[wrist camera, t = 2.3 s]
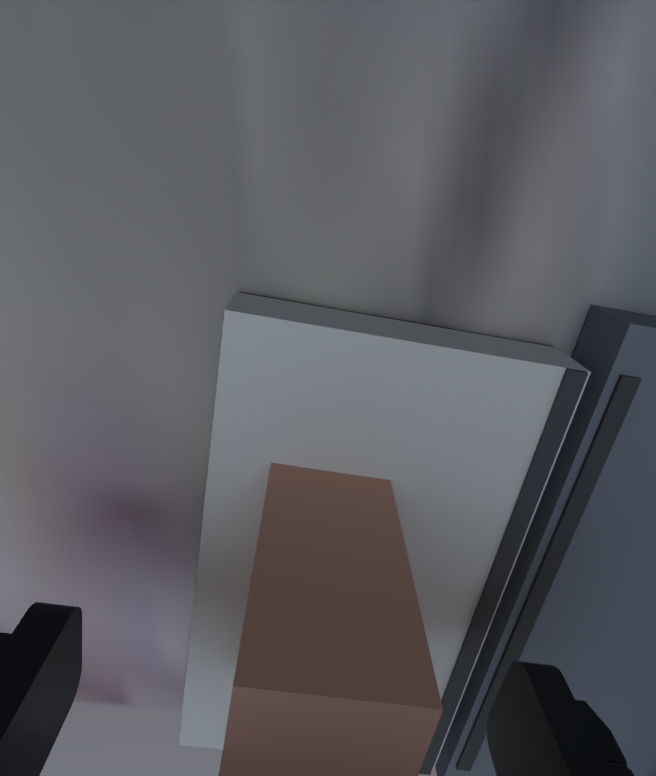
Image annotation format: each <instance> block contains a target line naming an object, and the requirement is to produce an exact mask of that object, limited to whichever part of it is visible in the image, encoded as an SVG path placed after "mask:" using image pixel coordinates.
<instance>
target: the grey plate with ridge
mask: <svg viewBox="0 0 656 776" xmlns="http://www.w3.org/2000/svg"><path fill="white" fill-rule="evenodd" d="M572 359H574V360H575V361H577V362H578V363H579V364H581V365H582V366H583V367H585V368H586V369H587V370H589V371H590V372H591V373H590V376H589V378H588V381H587V384H586V386H585V389H584V391H583V394H582V396H581V399H580V401H579V404H578V406H577V409H576V411H575V414H574V416H573V419H572V421H571V424H570V426H569V429H568V432H567V434H566V437H565V439H564V442H563V444H562V447H561V449H560V452H559V454H558V457H557V459H556V462H555V464H554V467H553V469H552V472H551V474H550V477H549V479H548V482H547V485H546V487H545V490H544V492H543V495H542V497H541V500H540V502H539V505H538V507H537V510H536V512H535V515H534V517H533V520H532V522H531V525H530V527H529V530H528V532H527V535H526V538H525V540H524V543H523V545H522V548H521V550H520V553H519V555H518V558H517V560H516V563H515V565H514V568H513V570H512V573H511V575H510V578H509V580H508V583H507V586H506V588H505V591H504V593H503V596H502V598H501V601H500V603H499V606H498V608H497V611H496V613H495V616H494V618H493V621H492V623H491V626H490V628H489V631H488V633H487V636H486V639H485V641H484V644H483V646H482V649H481V651H480V654H479V656H478V659H477V661H476V664H475V666H474V669H473V671H472V674H471V676H470V679H469V681H468V684H467V686H466V689H465V692H464V694H463V697H462V699H461V702H460V704H459V707H458V709H457V712H456V714H455V717H454V719H453V722H452V724H451V727H450V729H449V732H448V734H447V737H446V740H445V742H444V745H443V747H442V750H441V752H440V755H439V757H438V760H437V762H436V765H435V767H436V771H437V776H497V775H496V771H495V768H494V765H493V761H492V758H491V755H490V751H489V746H488V740H487V721H488V716H489V712H490V710H491V708H492V705H493V703H494V701H495V698H496V696H497V694H498V692H499V689H500V687H501V685H502V682H503V680H504V678H505V676H506V673H507V671H508V669H509V667H510V665H511V664H512V663H513V662H514V661H520V662H529V663H537V664H545V665H553V666H555V667H557V668H558V669H559V670H560V671H561V673H562V674H563V676H564V678H565V680H566V682H567V684H568V686H569V688H570V690H571V692H572V694H573V696H574V698H575V700H582V701H586V703H587V704H588V705H589V706H590V707H591V708H592V709H593V711H594V712H595V713H596V714H597V715H598V716H599V718H600V719H601V720H602V721H603V722H604V723H605V724H606V726H607V727H608V728H609V729H610V730H611V732H612V734H613V736H614V738H615V740H616V742H617V744H618V746H619V748H620V749H621V751H622V753H623V755H624V757H625V759H626V761H627V767H628V769H631V770H632V772H633V774H634V776H656V317H655V316H650V315H644V314H639V313H633V312H628V311H622V310H616V309H611V308H605V307H600V306H594V305H592V306H591V309H590V311H589V314H588V317H587V319H586V322H585V325H584V327H583V330H582V333H581V335H580V338H579V341H578V343H577V346H576V349H575V351H574V354H573V357H572Z"/></svg>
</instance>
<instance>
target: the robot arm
mask: <svg viewBox="0 0 656 776" xmlns="http://www.w3.org/2000/svg"><path fill="white" fill-rule="evenodd" d="M81 669H82V611H81V608H80V607H73V606H64V605H56V604H48V603H39V602H36V603H34V604H33V605H32V606H31V607H30V608H29V609H28V610H27V612H26V613H25V615H24V616H23V618H22V619H21V621H20V622H19V624H18V625H17V627H16V628H15V630H14V631H13V633H12V634H8V633H0V776H39V775H40V773H41V771H42V769H43V766H44V764H45V762H46V760H47V758H48V756H49V753H50V751H51V749H52V747H53V745H54V743H55V740H56V738H57V736H58V734H59V732H60V730H61V727H62V725H63V723H64V721H65V718H66V717H67V714H68V712H69V710H70V708H71V705H72V703H73V700H74V698H75V695H76V692H77V688H78V685H79V681H80V676H81ZM487 740H488V746H489V751H490V755H491V758H492V761H493V765H494V768H495V771H496V775H497V776H634V774H633V772H632V770H631V769H628V767H627V761H626V759H625V757H624V755H623V753H622V751H621V749H620V748H619V746H618V744H617V742H616V740H615V738H614V736H613V734H612V732H611V730H610V729H609V728H608V727H607V726H606V724H605V723H604V722H603V721H602V720H601V719H600V718H599V716H598V715H597V714H596V713H595V712H594V711H593V709H592V708H591V707H590V706H589V705H588V704H587V703H586V701H582V700H575V698H574V696H573V694H572V692H571V690H570V688H569V686H568V684H567V682H566V680H565V678H564V676H563V674H562V673H561V671H560V670H559V669H558V668H557V667H555V666H553V665H545V664H537V663H529V662H520V661H514V662H513V663H512V664H511V665H510V667H509V669H508V671H507V673H506V676H505V678H504V680H503V682H502V685H501V687H500V689H499V692H498V694H497V696H496V698H495V701H494V703H493V705H492V708H491V710H490V712H489V716H488V721H487Z"/></svg>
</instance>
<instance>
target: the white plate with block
mask: <svg viewBox="0 0 656 776" xmlns="http://www.w3.org/2000/svg"><path fill="white" fill-rule="evenodd" d="M590 373H591V372H590V371H589V370H587V369H586V368H585V367H583V366H582V365H581V364H579V363H578V362H577V361H575V360H574V359H572V358H571V357H570V356H568V355H567V354H566V353H564V352H563V351H562V350H560V349H559V348H556V347H550V346H544V345H539V344H533V343H527V342H521V341H516V340H510V339H504V338H498V337H492V336H487V335H481V334H475V333H469V332H464V331H458V330H452V329H446V328H440V327H435V326H429V325H423V324H417V323H412V322H406V321H400V320H394V319H388V318H383V317H377V316H371V315H365V314H360V313H354V312H348V311H342V310H336V309H331V308H325V307H319V306H313V305H308V304H302V303H296V302H290V301H284V300H279V299H273V298H267V297H261V296H256V295H250V294H244V293H238V292H237V293H236V295H235V296H234V297H233V299H232V300H231V302H230V303H229V305H228V306H227V307H226V309H225V312H224V322H223V331H222V341H221V350H220V360H219V369H218V378H217V388H216V397H215V407H214V416H213V426H212V435H211V445H210V454H209V464H208V473H207V482H206V492H205V501H204V511H203V520H202V530H201V539H200V549H199V558H198V567H197V577H196V586H195V596H194V605H193V615H192V624H191V634H190V643H189V652H188V662H187V671H186V681H185V690H184V700H183V709H182V719H181V728H180V738H179V745H182V746H192V747H202V748H211V749H221V750H223V752H222V759H221V765H220V772H219V776H418V774H429V775H430V774H431V771H433V770H434V767H435V765H436V762H437V760H438V757H439V755H440V752H441V750H442V747H443V745H444V742H445V740H446V737H447V734H448V732H449V729H450V727H451V724H452V722H453V719H454V717H455V714H456V712H457V709H458V707H459V704H460V702H461V699H462V697H463V694H464V692H465V689H466V686H467V684H468V681H469V679H470V676H471V674H472V671H473V669H474V666H475V664H476V661H477V659H478V656H479V654H480V651H481V649H482V646H483V644H484V641H485V639H486V636H487V633H488V631H489V628H490V626H491V623H492V621H493V618H494V616H495V613H496V611H497V608H498V606H499V603H500V601H501V598H502V596H503V593H504V591H505V588H506V586H507V583H508V580H509V578H510V575H511V573H512V570H513V568H514V565H515V563H516V560H517V558H518V555H519V553H520V550H521V548H522V545H523V543H524V540H525V538H526V535H527V532H528V530H529V527H530V525H531V522H532V520H533V517H534V515H535V512H536V510H537V507H538V505H539V502H540V500H541V497H542V495H543V492H544V490H545V487H546V485H547V482H548V479H549V477H550V474H551V472H552V469H553V467H554V464H555V462H556V459H557V457H558V454H559V452H560V449H561V447H562V444H563V442H564V439H565V437H566V434H567V432H568V429H569V426H570V424H571V421H572V419H573V416H574V414H575V411H576V409H577V406H578V404H579V401H580V399H581V396H582V394H583V391H584V389H585V386H586V384H587V381H588V378H589V376H590Z"/></svg>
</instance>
